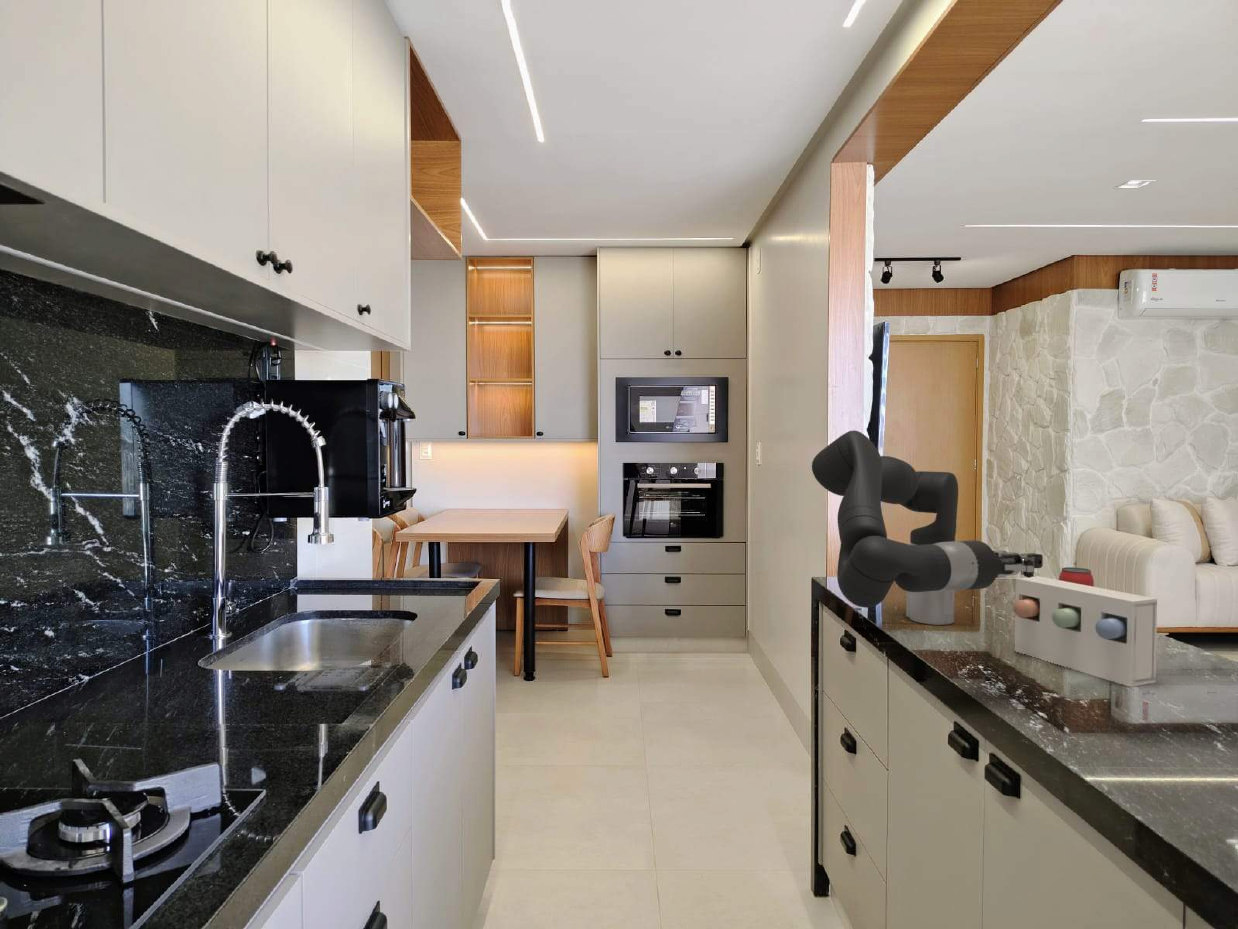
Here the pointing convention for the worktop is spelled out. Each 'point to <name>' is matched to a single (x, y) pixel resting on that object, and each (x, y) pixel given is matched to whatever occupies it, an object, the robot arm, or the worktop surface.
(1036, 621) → the console
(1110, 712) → the worktop surface
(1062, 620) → the sage button
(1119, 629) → the blue button
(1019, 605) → the terracotta button
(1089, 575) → the beer can
